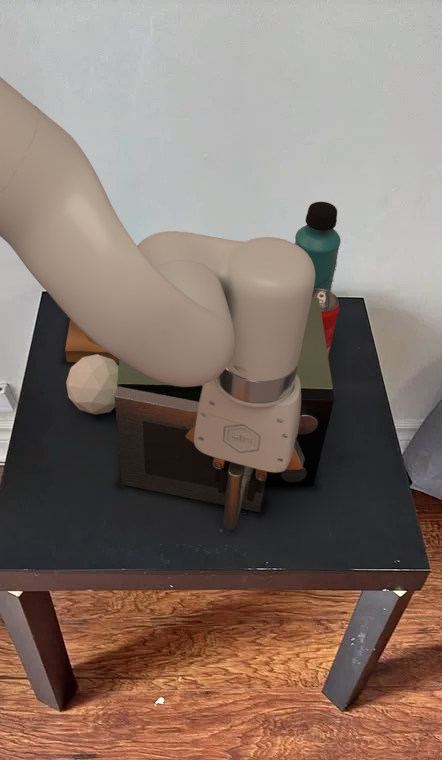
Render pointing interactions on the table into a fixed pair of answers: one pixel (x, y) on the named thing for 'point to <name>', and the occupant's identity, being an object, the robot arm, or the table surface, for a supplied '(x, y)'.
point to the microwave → (313, 398)
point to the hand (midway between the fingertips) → (239, 487)
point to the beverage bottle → (320, 242)
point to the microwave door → (174, 454)
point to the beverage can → (327, 313)
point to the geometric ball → (93, 384)
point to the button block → (82, 345)
